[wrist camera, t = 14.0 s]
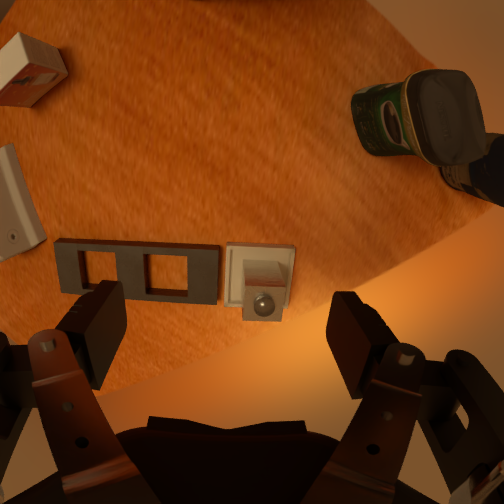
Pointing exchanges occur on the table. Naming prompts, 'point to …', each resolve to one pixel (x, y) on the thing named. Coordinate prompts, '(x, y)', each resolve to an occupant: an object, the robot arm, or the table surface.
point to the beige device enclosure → (16, 209)
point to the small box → (28, 70)
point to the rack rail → (140, 268)
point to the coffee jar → (422, 118)
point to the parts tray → (255, 252)
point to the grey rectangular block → (262, 291)
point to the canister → (481, 173)
